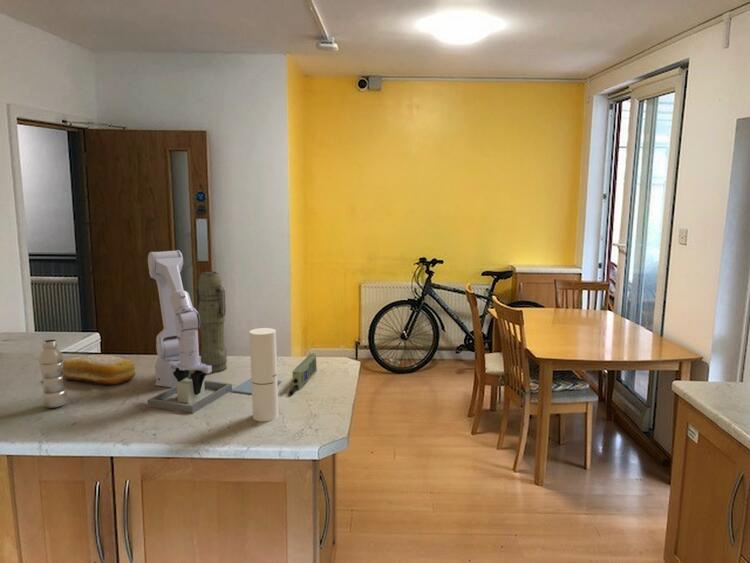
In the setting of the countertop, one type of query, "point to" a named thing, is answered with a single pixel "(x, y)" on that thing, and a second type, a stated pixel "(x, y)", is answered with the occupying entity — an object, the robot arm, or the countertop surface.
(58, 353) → the plastic bottle
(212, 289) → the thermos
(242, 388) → the rubber mat
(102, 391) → the countertop surface
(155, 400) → the gray rectangular frame
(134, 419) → the countertop surface
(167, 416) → the countertop surface
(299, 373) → the handheld radio
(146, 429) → the countertop surface
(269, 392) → the cylindrical container
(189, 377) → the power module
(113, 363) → the bread
